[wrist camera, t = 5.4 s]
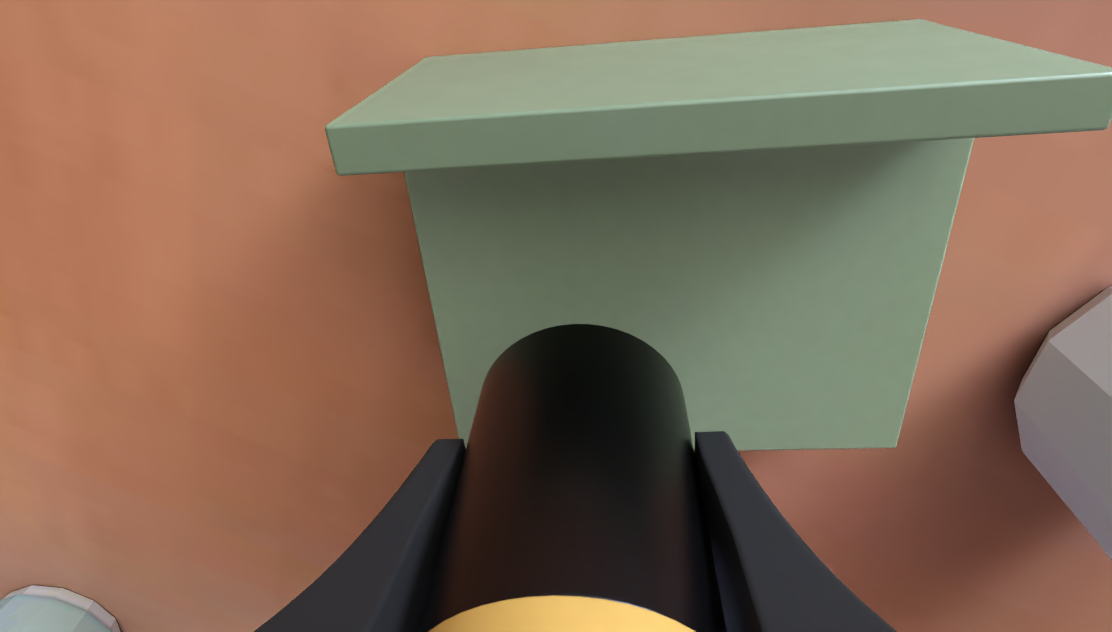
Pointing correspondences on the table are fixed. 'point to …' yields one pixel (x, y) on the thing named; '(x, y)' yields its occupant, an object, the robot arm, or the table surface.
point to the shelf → (711, 204)
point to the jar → (1074, 414)
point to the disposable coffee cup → (53, 612)
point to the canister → (577, 497)
